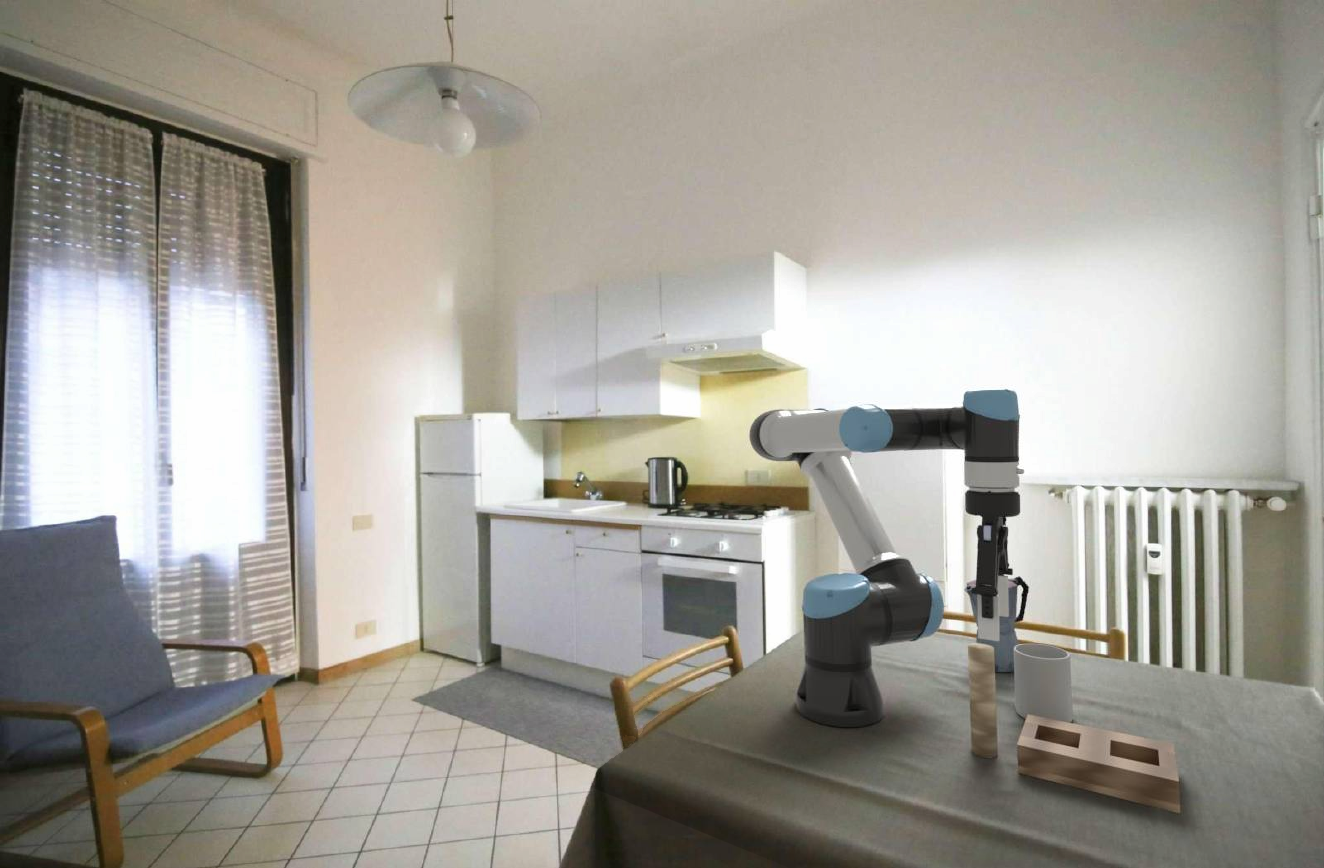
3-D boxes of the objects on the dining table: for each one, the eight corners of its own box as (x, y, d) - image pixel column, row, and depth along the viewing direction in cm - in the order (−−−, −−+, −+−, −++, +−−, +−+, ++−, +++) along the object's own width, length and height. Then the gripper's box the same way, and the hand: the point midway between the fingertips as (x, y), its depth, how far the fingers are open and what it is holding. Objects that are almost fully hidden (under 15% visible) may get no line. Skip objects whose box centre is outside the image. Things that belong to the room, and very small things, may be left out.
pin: (969, 753, 96) (965, 648, 96) (973, 744, 99) (970, 641, 99) (995, 760, 94) (991, 652, 94) (999, 750, 97) (995, 645, 97)
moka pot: (953, 662, 135) (949, 569, 135) (1009, 653, 140) (1006, 563, 140) (988, 678, 126) (984, 577, 126) (1047, 668, 130) (1044, 571, 131)
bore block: (1018, 772, 90) (1017, 744, 90) (1028, 739, 100) (1027, 714, 100) (1180, 813, 80) (1179, 781, 80) (1174, 772, 89) (1173, 743, 89)
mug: (1084, 725, 104) (1082, 658, 105) (1032, 726, 105) (1030, 660, 105) (1042, 696, 116) (1040, 636, 117) (995, 697, 117) (993, 637, 117)
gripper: (1012, 498, 85) (1014, 655, 85) (1025, 483, 105) (1027, 609, 106) (951, 496, 89) (954, 646, 89) (976, 481, 110) (978, 603, 110)
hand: (994, 626), depth 97 cm, fingers open, 13 cm apart
